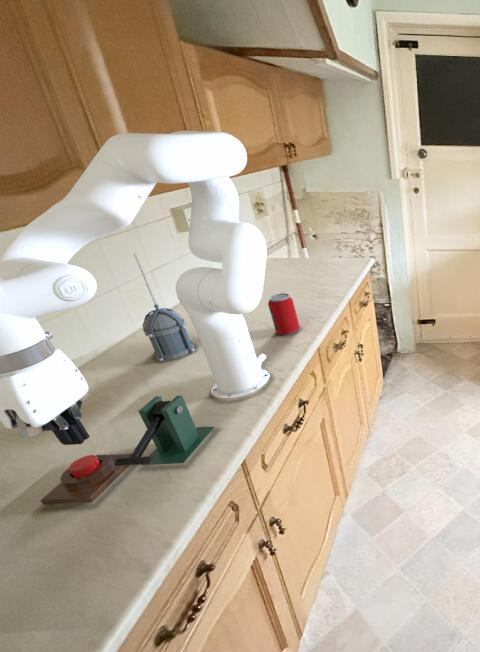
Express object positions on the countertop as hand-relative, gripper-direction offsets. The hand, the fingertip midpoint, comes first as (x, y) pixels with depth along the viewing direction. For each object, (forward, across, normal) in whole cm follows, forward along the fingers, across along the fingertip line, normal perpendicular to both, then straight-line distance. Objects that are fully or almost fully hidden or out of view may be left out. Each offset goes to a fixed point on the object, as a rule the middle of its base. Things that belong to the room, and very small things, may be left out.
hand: (76, 441), depth 70 cm
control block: (+10, +1, 0) cm, 10 cm away
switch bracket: (+10, -7, +10) cm, 16 cm away
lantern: (+11, -46, -17) cm, 50 cm away
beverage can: (+12, -57, +10) cm, 59 cm away
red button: (+6, +1, 0) cm, 6 cm away
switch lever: (+3, -3, +10) cm, 11 cm away
